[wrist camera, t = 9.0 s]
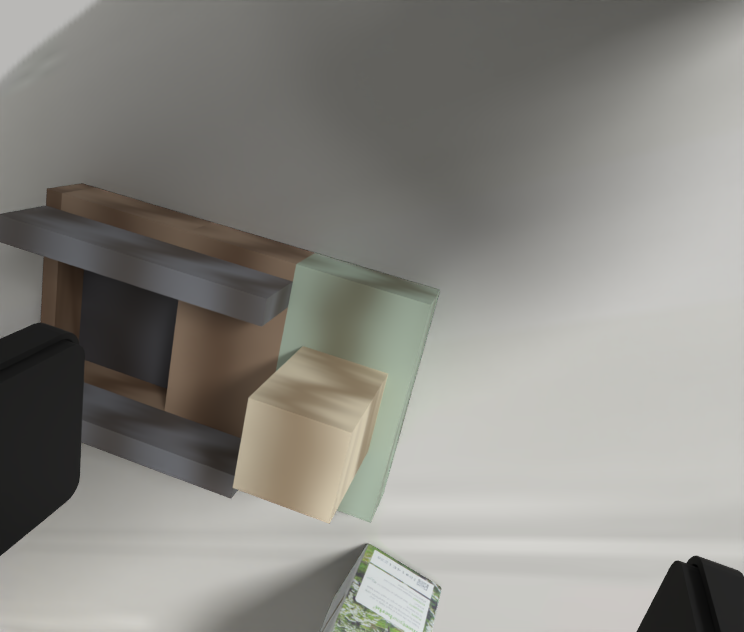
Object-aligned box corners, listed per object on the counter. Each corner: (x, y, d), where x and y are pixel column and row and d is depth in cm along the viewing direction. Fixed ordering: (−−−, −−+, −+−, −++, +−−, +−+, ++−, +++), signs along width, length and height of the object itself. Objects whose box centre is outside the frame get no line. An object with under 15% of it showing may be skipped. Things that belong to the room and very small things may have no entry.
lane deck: (439, 290, 36) (418, 325, 30) (382, 494, 41) (354, 560, 35) (81, 183, 40) (-1, 195, 34) (68, 382, 45) (-6, 424, 39)
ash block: (388, 373, 35) (351, 432, 28) (368, 451, 37) (329, 523, 30) (303, 345, 36) (248, 397, 29) (287, 423, 37) (232, 487, 31)
